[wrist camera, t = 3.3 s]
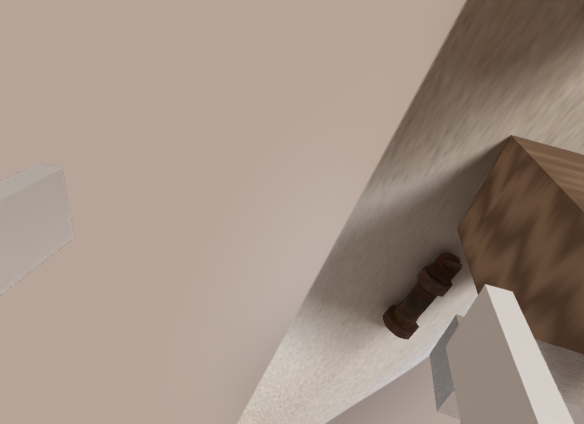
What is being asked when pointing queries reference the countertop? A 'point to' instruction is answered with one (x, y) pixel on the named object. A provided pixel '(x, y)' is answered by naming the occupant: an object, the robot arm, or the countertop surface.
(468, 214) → the wooden block
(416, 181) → the countertop surface
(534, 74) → the countertop surface
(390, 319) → the bolt
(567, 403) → the steel block
